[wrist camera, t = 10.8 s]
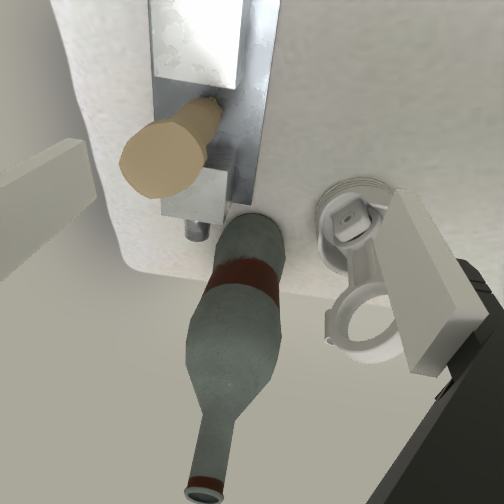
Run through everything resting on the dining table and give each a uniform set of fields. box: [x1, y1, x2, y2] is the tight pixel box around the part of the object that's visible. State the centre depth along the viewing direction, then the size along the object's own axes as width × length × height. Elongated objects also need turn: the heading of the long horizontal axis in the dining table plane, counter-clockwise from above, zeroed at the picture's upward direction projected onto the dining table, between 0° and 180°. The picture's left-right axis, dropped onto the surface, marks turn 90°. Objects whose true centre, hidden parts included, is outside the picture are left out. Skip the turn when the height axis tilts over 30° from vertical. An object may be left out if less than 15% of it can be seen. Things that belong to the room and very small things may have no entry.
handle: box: [119, 96, 223, 199], centre depth 29 cm, size 5×6×15 cm
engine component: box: [315, 178, 404, 364], centre depth 33 cm, size 11×20×10 cm
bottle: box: [184, 214, 285, 504], centre depth 33 cm, size 9×9×30 cm
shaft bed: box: [148, 0, 281, 242], centre depth 32 cm, size 12×28×7 cm, turn 173°
